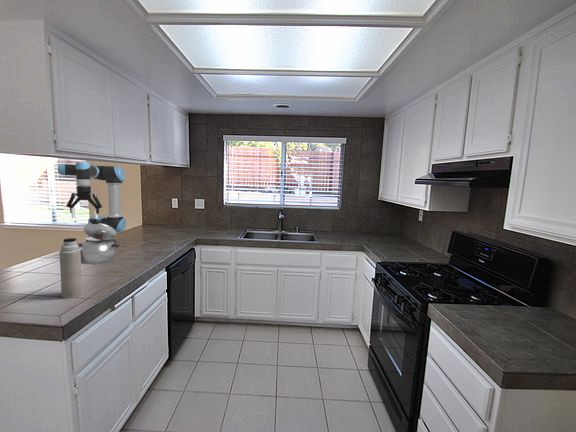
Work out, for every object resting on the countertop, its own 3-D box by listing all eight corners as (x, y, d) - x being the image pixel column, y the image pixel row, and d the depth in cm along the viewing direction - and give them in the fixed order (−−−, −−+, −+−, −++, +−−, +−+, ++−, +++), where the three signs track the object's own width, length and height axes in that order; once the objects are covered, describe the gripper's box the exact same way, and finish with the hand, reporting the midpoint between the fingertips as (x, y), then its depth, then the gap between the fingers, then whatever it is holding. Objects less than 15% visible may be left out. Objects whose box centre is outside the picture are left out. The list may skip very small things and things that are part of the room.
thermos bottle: (58, 298, 136) (55, 240, 133) (66, 292, 144) (64, 237, 140) (77, 298, 138) (75, 240, 135) (85, 291, 146) (82, 237, 142)
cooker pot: (85, 256, 204) (84, 240, 203) (123, 256, 209) (123, 240, 207) (71, 264, 187) (70, 245, 185) (113, 264, 191) (112, 246, 190)
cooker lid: (90, 239, 204) (91, 235, 206) (119, 240, 207) (120, 236, 209) (76, 220, 186) (78, 216, 188) (108, 221, 189) (110, 216, 191)
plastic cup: (94, 256, 206) (93, 240, 204) (81, 255, 208) (81, 238, 206) (106, 252, 216) (106, 237, 215) (94, 251, 218) (94, 235, 217)
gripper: (58, 185, 182) (60, 218, 185) (101, 187, 186) (102, 219, 189) (65, 184, 190) (67, 216, 192) (107, 186, 194) (108, 217, 196)
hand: (85, 218), depth 191 cm, fingers open, 13 cm apart
